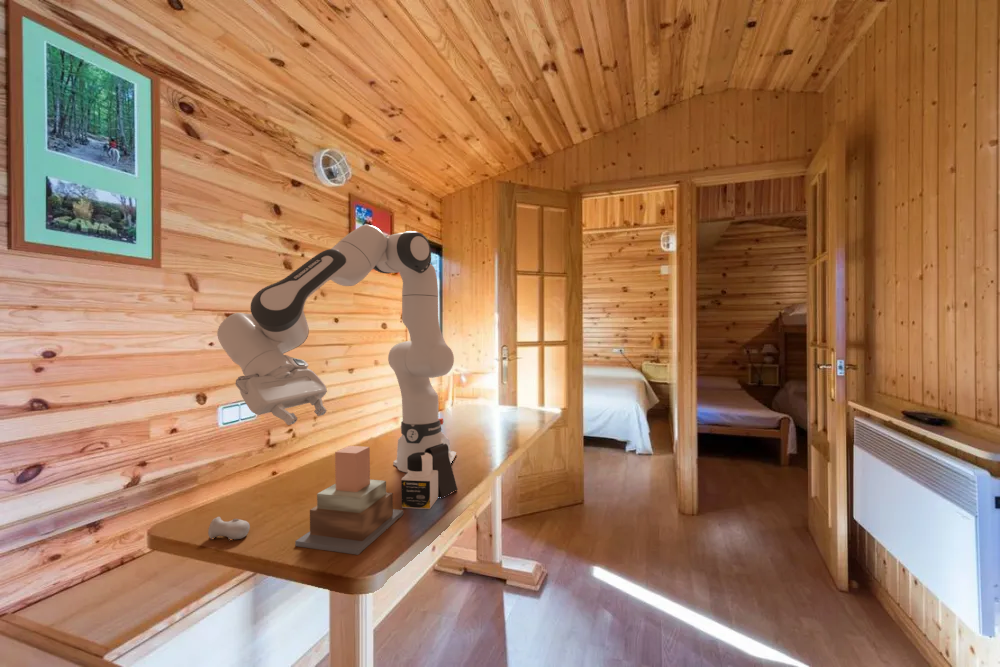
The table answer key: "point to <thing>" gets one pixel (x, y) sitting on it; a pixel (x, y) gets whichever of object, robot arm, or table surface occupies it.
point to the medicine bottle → (419, 482)
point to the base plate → (345, 544)
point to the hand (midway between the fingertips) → (308, 417)
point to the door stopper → (442, 469)
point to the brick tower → (351, 511)
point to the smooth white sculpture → (228, 528)
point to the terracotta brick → (352, 468)
